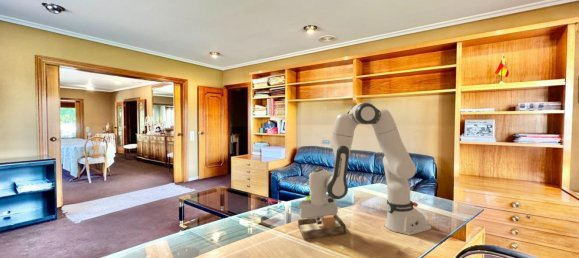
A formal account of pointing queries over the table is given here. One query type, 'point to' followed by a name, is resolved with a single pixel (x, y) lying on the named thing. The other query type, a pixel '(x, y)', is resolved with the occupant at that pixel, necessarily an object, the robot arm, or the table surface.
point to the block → (328, 221)
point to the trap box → (320, 228)
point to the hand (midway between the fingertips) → (319, 223)
